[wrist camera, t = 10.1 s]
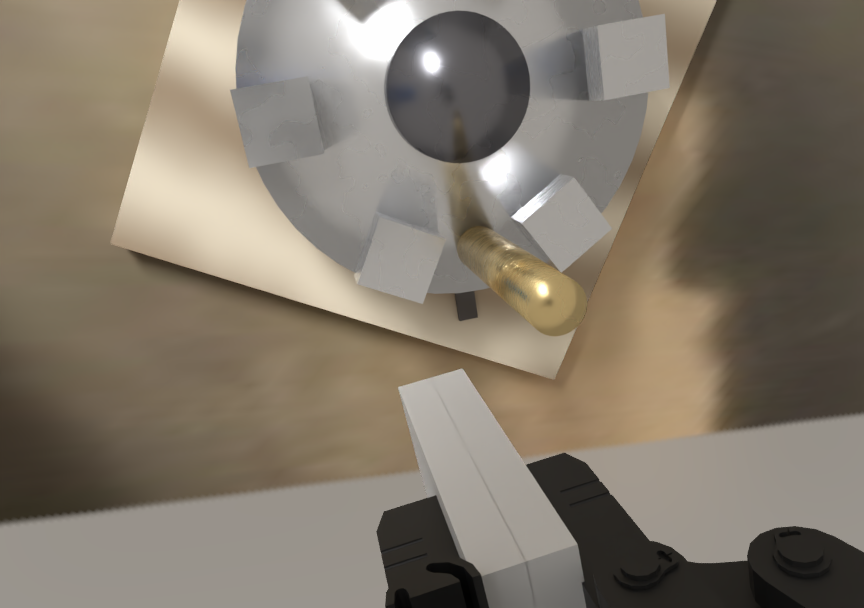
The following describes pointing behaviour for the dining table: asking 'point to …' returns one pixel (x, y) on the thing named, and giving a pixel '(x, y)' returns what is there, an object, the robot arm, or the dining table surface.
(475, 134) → the metal lathe chuck
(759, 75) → the dining table surface
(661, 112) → the birch base board
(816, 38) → the dining table surface
